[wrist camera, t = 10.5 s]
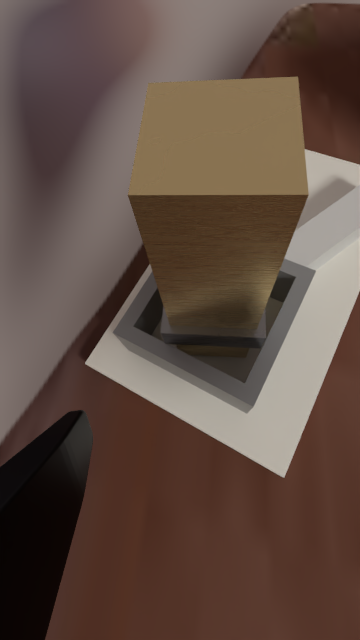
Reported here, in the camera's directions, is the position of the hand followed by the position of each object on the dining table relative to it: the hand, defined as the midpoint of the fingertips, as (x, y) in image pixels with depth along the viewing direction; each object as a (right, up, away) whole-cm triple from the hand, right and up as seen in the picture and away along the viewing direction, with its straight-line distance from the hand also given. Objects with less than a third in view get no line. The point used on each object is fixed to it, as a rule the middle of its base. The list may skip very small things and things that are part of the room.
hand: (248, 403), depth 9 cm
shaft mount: (+3, +5, +14) cm, 15 cm away
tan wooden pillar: (0, +2, +11) cm, 11 cm away
